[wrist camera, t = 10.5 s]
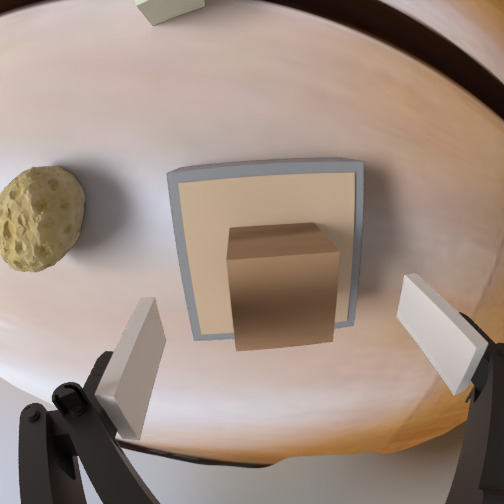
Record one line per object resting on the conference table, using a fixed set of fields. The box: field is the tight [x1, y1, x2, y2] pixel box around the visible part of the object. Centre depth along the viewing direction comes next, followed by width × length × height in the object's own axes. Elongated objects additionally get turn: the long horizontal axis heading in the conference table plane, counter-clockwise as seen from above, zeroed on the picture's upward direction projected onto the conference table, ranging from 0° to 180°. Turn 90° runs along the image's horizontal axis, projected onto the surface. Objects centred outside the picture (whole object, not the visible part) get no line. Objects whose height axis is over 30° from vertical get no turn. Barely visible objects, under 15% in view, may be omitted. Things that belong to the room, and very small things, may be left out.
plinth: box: [167, 158, 364, 341], centre depth 24 cm, size 14×14×5 cm
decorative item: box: [0, 166, 85, 272], centre depth 22 cm, size 10×10×10 cm
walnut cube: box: [226, 222, 340, 351], centre depth 19 cm, size 6×6×6 cm
